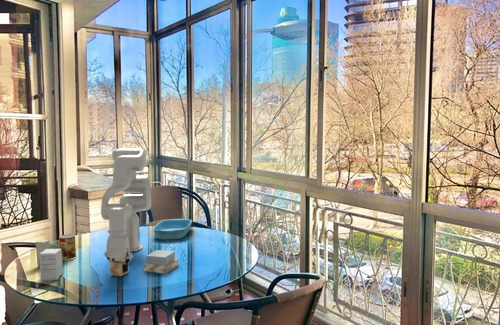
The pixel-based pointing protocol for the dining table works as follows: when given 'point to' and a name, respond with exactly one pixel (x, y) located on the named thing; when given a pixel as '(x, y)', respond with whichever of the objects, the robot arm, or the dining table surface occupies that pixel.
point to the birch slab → (161, 267)
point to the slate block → (160, 257)
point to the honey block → (117, 267)
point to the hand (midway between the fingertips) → (119, 270)
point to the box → (41, 248)
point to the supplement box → (51, 264)
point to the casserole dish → (172, 228)
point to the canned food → (67, 246)
